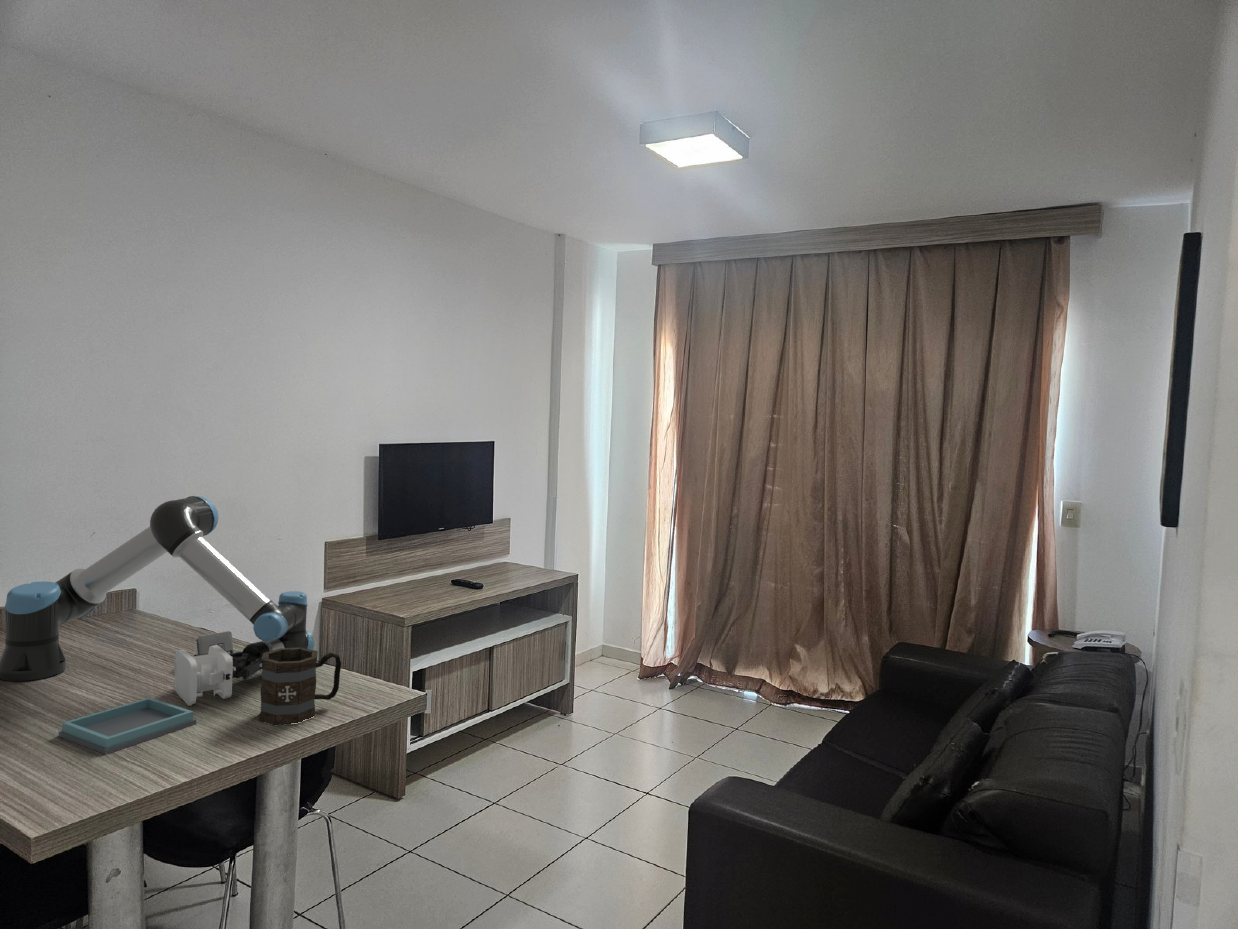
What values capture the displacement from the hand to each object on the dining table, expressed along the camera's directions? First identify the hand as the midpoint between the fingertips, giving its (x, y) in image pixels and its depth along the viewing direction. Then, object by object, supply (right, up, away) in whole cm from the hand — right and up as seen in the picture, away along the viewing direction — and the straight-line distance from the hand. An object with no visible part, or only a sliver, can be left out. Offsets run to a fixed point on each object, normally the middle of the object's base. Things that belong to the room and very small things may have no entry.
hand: (192, 674), depth 205 cm
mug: (+29, -9, -4) cm, 30 cm away
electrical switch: (-9, -5, +28) cm, 30 cm away
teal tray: (-4, -7, -20) cm, 22 cm away
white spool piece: (+1, -7, +3) cm, 8 cm away
